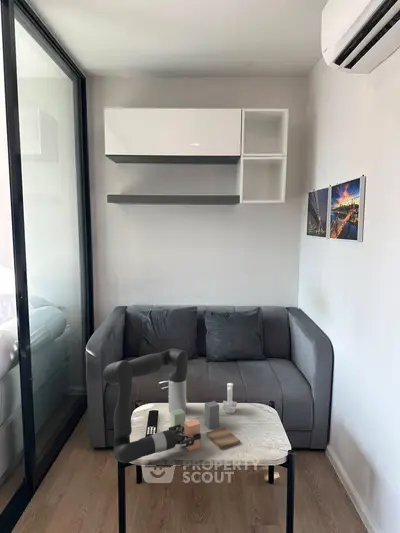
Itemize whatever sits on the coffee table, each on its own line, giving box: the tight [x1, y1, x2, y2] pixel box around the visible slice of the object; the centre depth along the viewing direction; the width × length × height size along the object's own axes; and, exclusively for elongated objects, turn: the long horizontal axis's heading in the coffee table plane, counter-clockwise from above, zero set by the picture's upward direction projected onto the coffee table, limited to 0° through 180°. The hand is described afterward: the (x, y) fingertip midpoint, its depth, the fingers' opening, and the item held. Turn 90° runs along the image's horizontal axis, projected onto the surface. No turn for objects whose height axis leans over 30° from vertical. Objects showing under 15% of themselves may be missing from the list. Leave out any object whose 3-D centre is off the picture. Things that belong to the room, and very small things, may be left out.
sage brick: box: [170, 409, 186, 433], centre depth 175 cm, size 4×6×11 cm
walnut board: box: [205, 426, 241, 450], centre depth 171 cm, size 13×10×2 cm
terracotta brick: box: [184, 418, 201, 452], centre depth 165 cm, size 4×6×11 cm
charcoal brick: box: [204, 400, 220, 430], centre depth 183 cm, size 4×6×11 cm
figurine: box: [222, 382, 238, 414], centre depth 198 cm, size 7×9×15 cm
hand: (195, 431), depth 166 cm, fingers open, 7 cm apart
